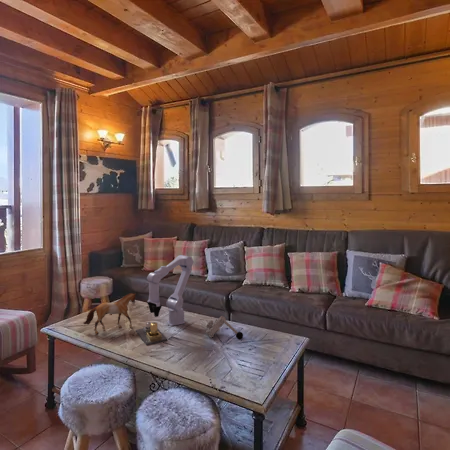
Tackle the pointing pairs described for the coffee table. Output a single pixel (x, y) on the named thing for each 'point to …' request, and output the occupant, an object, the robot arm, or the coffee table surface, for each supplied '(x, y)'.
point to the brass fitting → (153, 329)
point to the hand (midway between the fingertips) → (154, 314)
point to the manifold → (146, 337)
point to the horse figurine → (111, 310)
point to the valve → (218, 323)
